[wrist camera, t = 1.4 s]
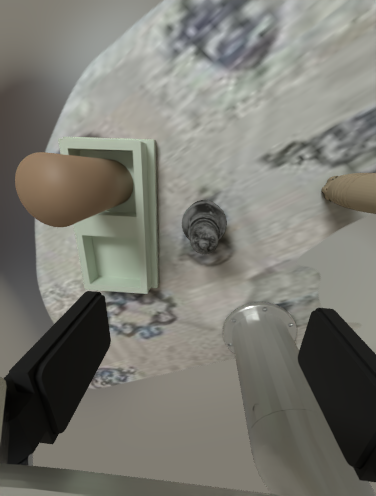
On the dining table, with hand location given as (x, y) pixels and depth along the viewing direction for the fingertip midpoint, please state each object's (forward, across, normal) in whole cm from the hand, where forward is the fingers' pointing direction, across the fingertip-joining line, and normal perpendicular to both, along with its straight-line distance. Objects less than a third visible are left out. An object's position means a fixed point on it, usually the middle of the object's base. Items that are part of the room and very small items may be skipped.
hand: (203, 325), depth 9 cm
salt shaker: (+22, 0, 0) cm, 22 cm away
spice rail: (+22, +13, +1) cm, 26 cm away
